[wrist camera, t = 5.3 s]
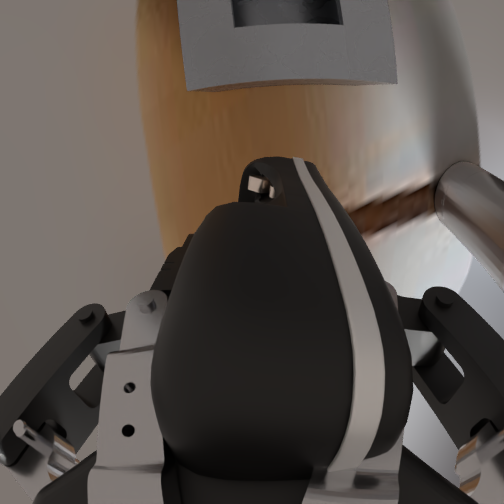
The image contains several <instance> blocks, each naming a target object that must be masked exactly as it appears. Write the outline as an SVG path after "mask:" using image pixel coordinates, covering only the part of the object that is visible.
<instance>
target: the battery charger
mask: <svg viewBox="0 0 504 504" xmlns="http://www.w3.org/2000/svg"><path fill="white" fill-rule="evenodd" d="M150 386H151V396H152V401H153V405H154V410H155V414H156V418H157V421H158V425H159V428H160V432H161V434H162V436H163V438H164V440H165V442H166V444H167V445H168V447H169V449H170V450H171V452H172V454H173V455H174V457H175V459H176V460H177V462H178V463H179V464H180V465H182V466H184V467H185V468H187V469H188V470H190V471H192V472H193V473H195V474H198V475H202V476H207V477H211V478H216V479H222V480H236V481H289V480H304V479H310V478H311V475H312V472H313V469H314V468H317V467H325V466H328V467H327V471H328V472H332V471H339V470H345V469H350V468H355V467H357V466H358V465H359V464H360V463H361V462H362V461H363V459H368V458H372V457H376V456H378V455H381V454H384V453H386V452H388V451H389V450H390V449H391V448H392V447H393V446H394V445H395V444H396V442H397V440H398V438H399V437H400V435H401V433H402V431H403V429H404V427H405V425H406V423H407V419H408V415H409V410H410V405H411V400H412V394H413V372H412V356H411V351H410V348H409V344H408V340H407V337H406V333H405V330H404V326H403V323H402V320H401V317H400V315H399V312H398V310H397V308H396V305H395V303H394V300H393V298H392V296H391V294H390V291H389V289H388V287H387V285H386V283H385V280H384V278H383V276H382V274H381V272H380V270H379V268H378V266H377V264H376V262H375V260H374V258H373V256H372V254H371V252H370V250H369V248H368V246H367V245H366V243H365V241H364V239H363V238H362V236H361V234H360V233H359V231H358V229H357V228H356V226H355V224H354V223H353V221H352V220H351V218H350V217H349V215H348V214H347V212H346V211H345V210H344V208H343V207H342V205H341V204H340V202H339V201H338V200H337V198H336V197H335V196H334V194H333V193H332V192H331V191H330V189H329V188H328V186H327V185H326V183H325V182H324V180H323V178H322V177H321V175H320V173H319V171H318V170H317V168H316V166H315V165H314V164H313V163H311V162H308V161H303V159H302V158H296V157H293V158H292V159H290V158H284V157H264V158H260V159H256V160H254V161H252V162H251V163H250V164H248V165H247V166H246V168H245V169H244V172H243V175H242V179H241V183H240V191H239V199H238V202H232V203H228V204H224V205H220V206H216V207H215V208H214V209H213V210H212V211H211V212H210V213H209V214H208V215H206V217H205V219H204V221H203V222H202V223H201V225H200V226H199V228H198V229H197V231H196V232H195V234H194V235H193V237H192V240H191V242H190V244H189V246H188V248H187V251H186V253H185V255H184V258H183V260H182V263H181V266H180V268H179V271H178V273H177V276H176V279H175V282H174V285H173V288H172V291H171V293H170V296H169V299H168V302H167V306H166V309H165V312H164V315H163V319H162V322H161V325H160V329H159V332H158V336H157V340H156V343H155V347H154V353H153V358H152V364H151V379H150Z"/></svg>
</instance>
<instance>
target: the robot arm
mask: <svg viewBox="0 0 504 504" xmlns="http://www.w3.org/2000/svg"><path fill="white" fill-rule="evenodd" d="M435 210H436V213H437V216H438V218H439V220H440V221H441V222H442V223H443V224H444V225H445V226H446V227H447V228H448V229H449V230H450V231H451V232H452V233H453V234H454V235H455V236H456V238H457V239H458V240H459V241H460V242H461V243H462V244H463V245H464V246H465V247H466V248H467V249H468V250H469V252H470V253H471V254H472V255H473V256H474V257H475V258H476V259H477V261H478V262H479V263H480V264H481V265H482V266H483V267H484V269H485V270H486V271H487V272H488V273H489V275H490V276H491V277H492V278H493V279H494V281H495V282H496V283H497V284H498V286H499V287H500V288H501V290H502V291H503V292H504V181H503V180H501V179H499V178H498V177H496V176H494V175H493V174H491V173H489V172H488V171H486V170H484V169H482V168H480V167H478V166H477V165H475V164H473V163H470V162H465V161H464V162H458V163H456V164H454V165H452V166H451V167H450V168H448V169H447V171H446V172H445V173H444V174H443V176H442V177H441V179H440V181H439V183H438V186H437V189H436V193H435ZM193 235H194V234H189V235H188V237H187V239H186V240H185V242H184V244H183V246H182V247H177V248H176V249H175V250H174V251H172V252H171V253H170V254H169V255H168V257H167V259H166V261H165V264H163V266H162V268H161V271H160V272H159V273H158V275H157V278H156V279H155V281H154V283H153V285H152V287H151V289H150V290H149V291H145V292H142V293H140V294H138V295H136V296H135V297H134V298H132V299H131V300H130V302H129V303H128V305H127V308H126V311H122V312H118V313H113V314H109V315H108V314H107V313H106V311H105V309H104V307H103V306H102V305H100V304H89V305H87V306H84V307H83V308H81V309H79V310H78V311H77V312H76V313H75V314H74V315H73V316H72V317H71V318H70V319H69V320H68V321H67V322H66V323H65V324H64V325H63V326H62V327H61V328H60V329H59V330H58V331H57V332H56V333H55V334H54V335H53V336H52V337H51V338H50V339H49V341H48V342H47V343H46V344H45V345H44V346H43V347H42V348H41V349H40V350H39V352H37V354H36V355H35V356H34V357H33V358H32V359H31V360H30V361H29V363H28V364H27V365H26V366H25V367H24V368H23V369H22V371H21V372H20V373H19V374H18V375H17V376H16V377H15V379H14V380H13V381H12V382H11V383H10V385H9V386H8V387H7V389H6V390H5V391H4V392H3V393H2V395H1V396H0V464H1V465H2V466H4V467H6V468H7V469H8V470H9V472H10V473H11V474H12V476H13V477H14V478H15V480H16V481H17V482H18V484H19V485H20V486H21V488H22V489H23V490H24V491H25V493H26V494H27V495H28V496H29V497H30V499H31V500H32V501H33V504H504V340H503V339H502V338H501V337H500V335H499V334H498V333H497V332H496V331H495V330H494V329H493V328H492V327H491V326H490V325H489V324H488V323H487V322H486V321H485V320H484V319H483V318H482V317H481V316H480V315H479V314H478V313H477V312H476V311H475V310H474V309H473V308H472V307H471V306H470V305H469V304H467V302H466V301H465V300H463V299H462V298H461V297H460V296H459V295H458V294H457V293H456V292H454V291H453V290H451V289H448V288H445V287H432V288H429V289H427V290H426V291H425V293H424V295H423V298H422V299H415V298H407V297H402V296H398V295H397V292H396V290H395V288H394V287H393V286H392V285H391V284H389V283H388V282H386V281H385V283H386V285H387V287H388V289H389V291H390V294H391V296H392V298H393V300H394V303H395V305H396V308H397V310H398V312H399V315H400V317H401V320H402V323H403V326H404V330H405V333H406V337H407V340H408V344H409V348H410V351H411V356H412V372H413V382H414V384H415V385H416V387H417V388H418V390H419V391H420V392H421V394H422V395H423V397H424V398H425V400H426V401H427V403H428V404H429V405H430V407H431V408H432V410H433V411H434V413H435V414H436V416H437V417H438V419H439V420H440V422H441V423H442V425H443V426H444V428H445V429H446V431H447V433H448V434H449V436H450V437H451V439H452V440H453V442H454V443H455V445H456V447H457V448H458V450H459V451H458V454H457V458H456V465H455V473H456V474H457V475H459V476H460V487H459V488H458V487H456V486H455V485H453V484H452V483H451V482H449V481H448V480H447V479H445V478H444V477H443V476H442V475H440V474H439V473H438V472H436V471H435V470H434V469H432V468H431V467H430V466H429V465H427V464H426V463H425V462H423V461H422V460H421V459H420V458H418V457H417V456H416V455H415V454H413V453H412V452H411V451H410V450H408V449H407V448H406V447H405V446H404V445H402V443H403V432H404V429H403V431H402V433H401V435H400V437H399V438H398V440H397V442H396V444H395V445H394V446H393V447H392V448H391V449H390V450H389V451H388V452H386V453H384V454H381V455H378V456H376V457H372V458H368V459H363V461H362V462H361V463H360V464H359V465H358V466H357V467H355V468H350V469H345V470H339V471H332V472H328V471H327V467H328V466H325V467H317V468H314V469H313V472H312V475H311V478H310V479H304V480H289V481H236V480H222V479H216V478H211V477H207V476H202V475H198V474H195V473H193V472H192V471H190V470H188V469H187V468H185V467H184V466H182V465H180V464H179V463H178V462H177V460H176V459H175V457H174V455H173V454H172V452H171V450H170V449H169V447H168V445H167V444H166V442H165V440H164V438H163V436H162V434H161V432H160V428H159V425H158V421H157V418H156V414H155V410H154V405H153V401H152V396H151V386H150V379H151V364H152V358H153V353H154V347H155V343H156V340H157V336H158V332H159V329H160V325H161V322H162V319H163V315H164V312H165V309H166V306H167V302H168V299H169V296H170V293H171V291H172V288H173V285H174V282H175V279H176V276H177V273H178V271H179V268H180V266H181V263H182V260H183V258H184V255H185V253H186V251H187V248H188V246H189V244H190V242H191V240H192V237H193ZM445 348H446V349H447V351H448V352H449V353H450V354H451V355H452V356H453V357H454V359H455V360H456V361H457V363H458V364H459V365H460V366H461V368H462V369H463V372H464V377H463V376H462V374H461V373H460V372H459V371H458V369H457V368H456V367H455V366H454V364H453V363H452V362H451V361H450V359H449V358H448V357H447V356H446V355H445V353H444V350H445ZM88 355H90V356H91V358H92V359H93V360H94V362H95V363H96V365H95V366H94V367H93V368H92V370H91V371H90V372H89V373H88V375H87V376H86V377H85V378H84V379H83V381H82V382H81V383H80V384H79V385H78V387H77V388H76V389H75V390H72V389H71V388H70V386H69V379H70V377H71V375H72V374H73V372H74V371H75V370H76V369H77V368H78V367H79V365H80V364H81V363H82V362H83V361H84V360H85V358H86V357H87V356H88ZM97 424H98V438H97V450H96V451H95V452H93V453H92V454H90V455H89V456H88V457H86V458H85V459H84V460H82V461H81V462H79V460H78V459H76V457H75V456H76V453H77V452H78V450H79V449H80V448H81V446H82V445H83V444H84V442H85V441H86V440H87V438H88V437H89V435H90V434H91V433H92V431H93V430H94V428H95V427H96V426H97Z"/></svg>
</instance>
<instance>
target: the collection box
mask: <svg viewBox="0 0 504 504" xmlns="http://www.w3.org/2000/svg"><path fill="white" fill-rule="evenodd" d="M177 7H178V18H179V28H180V37H181V46H182V54H183V63H184V71H185V79H186V86H187V91H205V92H218V91H225V90H233V89H242V88H251V87H263V86H277V85H302V84H332V85H375V84H397V69H396V58H395V48H394V39H393V32H392V25H391V19H390V13H389V7H388V2H387V0H177Z"/></svg>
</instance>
